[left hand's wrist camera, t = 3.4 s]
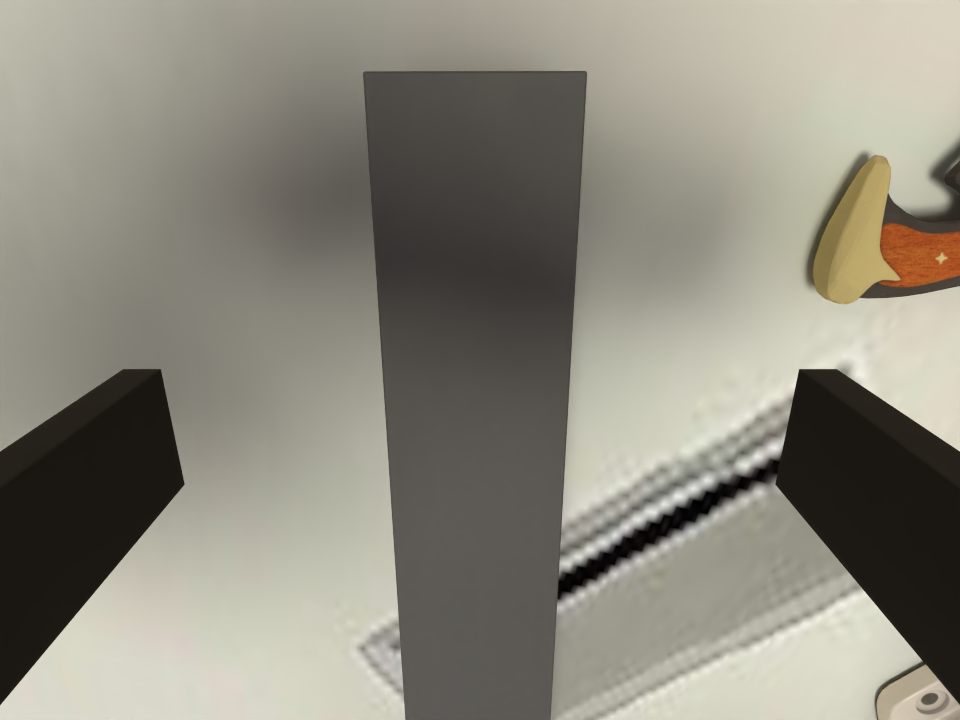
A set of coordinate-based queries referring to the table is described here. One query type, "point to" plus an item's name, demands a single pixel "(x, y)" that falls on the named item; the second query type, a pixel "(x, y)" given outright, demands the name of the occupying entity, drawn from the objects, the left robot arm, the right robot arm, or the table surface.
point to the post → (476, 372)
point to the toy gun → (884, 244)
